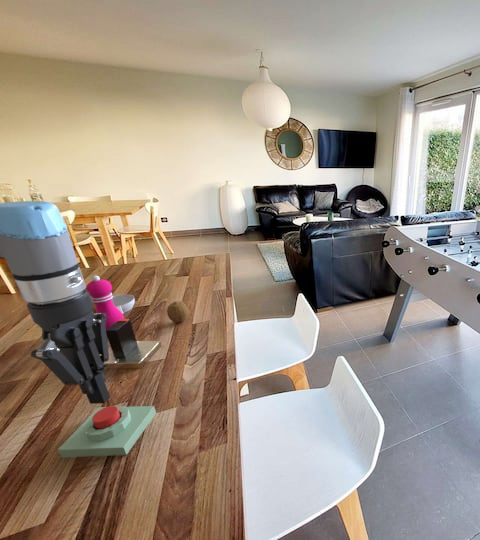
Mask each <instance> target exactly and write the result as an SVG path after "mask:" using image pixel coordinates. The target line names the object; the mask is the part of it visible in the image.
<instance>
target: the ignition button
mask: <svg viewBox="0 0 480 540" xmlns="http://www.w3.org/2000/svg"><path fill="white" fill-rule="evenodd" d="M104 407H105V408H103V409H101V410H99V411H98V412H97V413H96V414H95V415H94V416H93V418H92V421H93V423H94V425H95V428H96V429H105V428H108V427H110V426H112V425H113V424H115V423H116V422H117V421H118V420H119V419H120V414H119V411H118V408H117V407H115V405H110V406H104Z"/></svg>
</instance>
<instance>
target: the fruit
mask: <svg viewBox="0 0 480 540" xmlns="http://www.w3.org/2000/svg"><path fill="white" fill-rule="evenodd" d="M166 313H167V317H168V319H169V320H170V321H171V322H172V323H183V322H184V321H185V320H187V318H188V316H189V308H188V306H187V304H186V303H185V302H183V301H180V300H179V301H173V302H171V303H170V304H169V305H168V306H167V309H166Z"/></svg>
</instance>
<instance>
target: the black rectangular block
mask: <svg viewBox="0 0 480 540" xmlns="http://www.w3.org/2000/svg"><path fill="white" fill-rule="evenodd" d="M106 334H107V341H108V344H109V346H111V349H112V352H113V354H114V357H115V358H122V357H126V356H127V355H128V354H129V353H130V352H131V351H132V350H133V349H135V348H136V347H137V346H138V344H137V341H138V340H137V338H136V335H135V331H134V327H133V325H132V321H131V319H129V318H124V319H119V320H118V321H117V322H116V323H114V324H113V325H112V326H110V327H109V328H108V329H106Z"/></svg>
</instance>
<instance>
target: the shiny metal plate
mask: <svg viewBox="0 0 480 540" xmlns="http://www.w3.org/2000/svg"><path fill="white" fill-rule="evenodd" d="M136 341H137V344H138V346H137V347H136V348H135V349H133V350H132V351H131V352H130V353H129V354H128V355H127V356H126V357H122V358H115V357H114V354H113V352H112V349H111V346H110V345H108V352H109V360H108V361H107V362H104V363H103V365H107V369H106V370H127V369H128V370H135V369H136V370H138V369H139V370H140V369H142V368H143V367H144V366H146V364H147V363H148V362H149V361H150V360H151V358H153V356H154V355H155V354H156V353H157V352H158V351H159V349H161V348H162V342H161V340H136ZM99 355H100V356H101V354H99Z"/></svg>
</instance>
